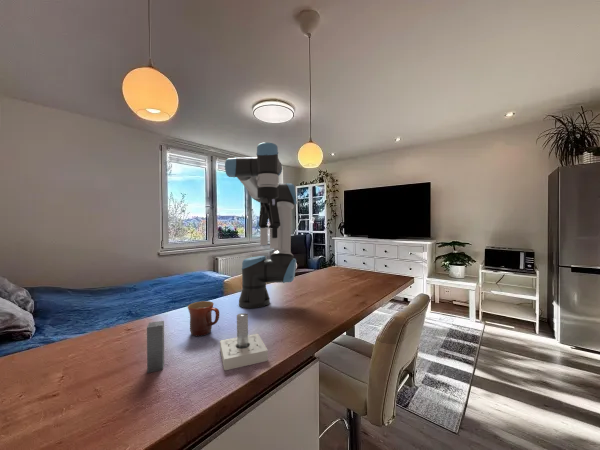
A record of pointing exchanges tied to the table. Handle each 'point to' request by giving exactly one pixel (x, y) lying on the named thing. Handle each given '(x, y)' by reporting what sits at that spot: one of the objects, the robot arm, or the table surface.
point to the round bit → (242, 330)
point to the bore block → (243, 352)
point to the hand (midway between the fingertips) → (268, 246)
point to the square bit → (155, 346)
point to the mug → (202, 317)
